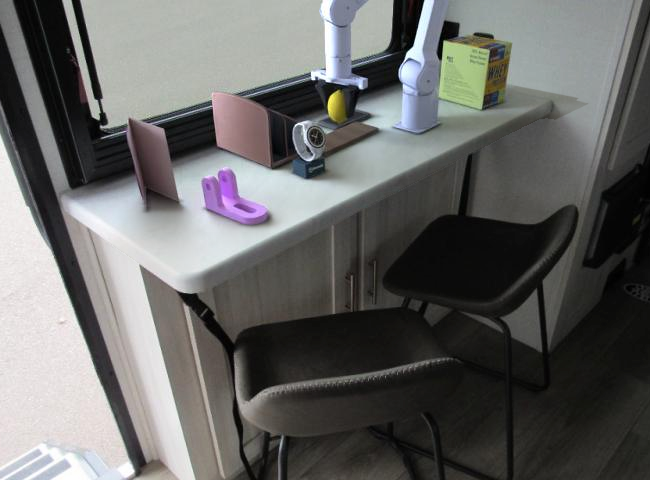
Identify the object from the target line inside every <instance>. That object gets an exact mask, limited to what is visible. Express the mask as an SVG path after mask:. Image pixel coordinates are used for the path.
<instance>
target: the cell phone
mask: <svg viewBox="0 0 650 480" xmlns="http://www.w3.org/2000/svg"><path fill="white" fill-rule="evenodd" d="M371 116H372V113H371V112H367V111H364V110H360V109H357V108H355V112H354V116H353V117H351V118H349V119H347V120H345V121H343V122H342V123H341V124H338V123H337V122H336V121H334V120H332V119H331V117H330V116H327V117H324V118H322V119H319V120H318V121H317V125H318V126H322V127H325V128H329V129H331V130H334V131H335V130H337V129H340V128H342V127H344V126H347V125H349V124H351V123H354V122H361V121H363V120H366V119H367V118H370V117H371Z"/></svg>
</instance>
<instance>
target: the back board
mask: <svg viewBox="0 0 650 480" xmlns="http://www.w3.org/2000/svg"><path fill="white" fill-rule="evenodd" d="M379 130H380V128H379V127H377V126H374V125H370V124H367V123H363V122H361V121H359V122H354V123H351V124H349V125H347V126H344V127H342V128H340V129H337V130H335V129H334V130H333V131H331V132H328V133H325V134H326V142H325V147H324V150H323V153H322V155H321V156H322V157H327V156H328V155H331V154H334V153H335V152H338V151H339V150H342V149H344V148H346V147H348V146H351V145H353V144H355V143H357V142H359V141H361V140H363V139H366V138H368V137H370V136H372V135H374V134H376V133H378V132H380V131H379ZM304 143H305V142H304ZM305 146H306V148H307V152H308V151H309V152H311V150H310V148H309V147H308V146H307V145H306V143H305Z"/></svg>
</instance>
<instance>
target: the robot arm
mask: <svg viewBox="0 0 650 480" xmlns="http://www.w3.org/2000/svg"><path fill="white" fill-rule="evenodd" d="M367 2H369V0H322V3H321V6H320V7H319V14H320V16H321V18H322V19H323V20H324V45H325V46H324V47H325V48H324V50H325V70H323V69H314V70H311V72H310V73H311V74H310V75H311V76H310V77H311V81H317V83H315V85H314V86H315V87H314V88H315V89H316V91H317V92H318V95H319V97H320V99H321V102H322V104H323V107H324V111H325V114H327V115H329V113H328V101H329V98H330V96H331V95H332V94H333V93H334V92H335V88H336V84H338V85H342V86H343V85H344V86H347V87H345V88H343V89H342V90H341V91H342V92H343V94H344V98H345V104H346V118H348V119H349V118H351V117H353V116H354V112H355V109H357V108H356V107H357V105H358V101H359V99H360V96H361V94H362V92H363V90H364V89H367V88H368V86H369V85H368V82H369V81H368V80H369V79H368V78H367V77H362V76H360V75H357V74H354V73H352V23H353V22H354V20H355V18H356V15H357V12H358V11H359V10H360V9H361V8H362V7H363V6H364V5H365V4H367ZM449 3H450V0H424V1H423V4H422V10H421V14H420V18H419V22H418V26H417V27H418V28H417V30H416V35H415V39H414V43H413V46H412V47H411V48H410V49H409V50H408V51H407V52H406V54H405V57H404V60H403V62H402V63H401V64H400V67H399V69H398V78H399V81H400V82H401V83H402V104H401V121H400V122H398V123H396V124H394V125H393V126H394V128H397V129H400V130H403V131H406V132H407V131H408V132H410V133H415V134H418V135H419V134H422V133H424V132H427V131H429V130H430V129H433V128H434V127H437V126H438V125H441V121H439V120H438V116H439V105H440V98H439V92H438V91H437V90H436V89H437V87H438V85H439V83H440V73H439V70H440V65H441V62H440V59H439V57H438V55H437V49H438V46H439V41H440V37H441V33H442V29H443V26H444V22H445V18H446V14H447V10H448V8H449Z"/></svg>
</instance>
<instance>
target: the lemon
mask: <svg viewBox="0 0 650 480" xmlns="http://www.w3.org/2000/svg"><path fill="white" fill-rule="evenodd" d="M328 113H329V114H328V115H329V116H330V117H331V119H332V120H334V121H336V122H337V123H338V124H341V123H342V122H343V121H345V120H347V119H348V118H346V104H345V98H344V94H343V91H342V90H341V89H337V91H334V93H333V94H332V95H331V96H330V98H329V101H328ZM329 116H328V117H329Z"/></svg>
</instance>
